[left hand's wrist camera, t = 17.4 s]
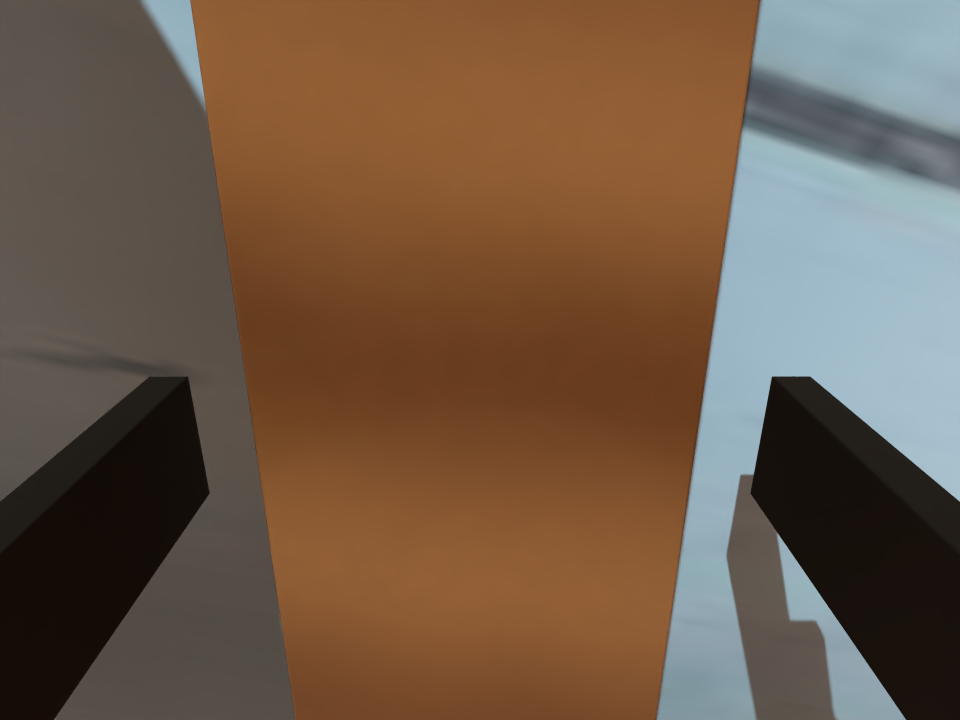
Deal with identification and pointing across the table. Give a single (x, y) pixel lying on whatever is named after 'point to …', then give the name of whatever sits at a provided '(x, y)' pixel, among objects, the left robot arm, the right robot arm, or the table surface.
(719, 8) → the post
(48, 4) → the table surface
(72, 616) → the left robot arm
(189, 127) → the table surface
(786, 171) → the table surface
